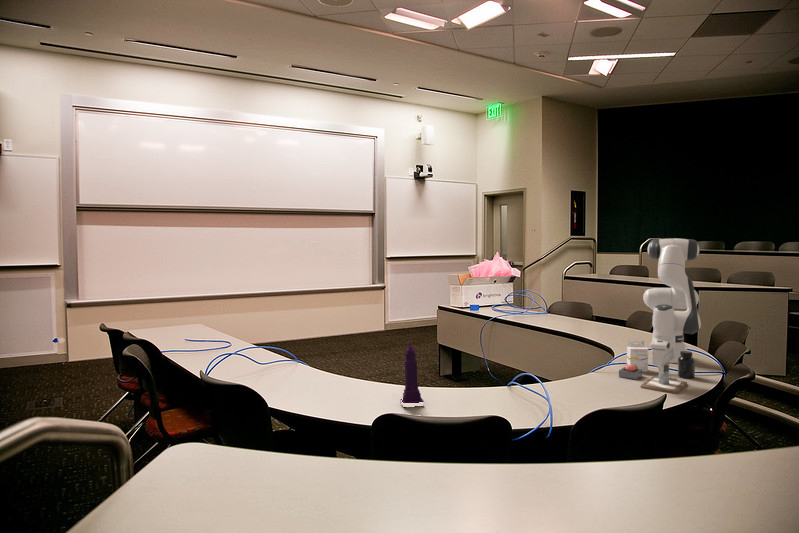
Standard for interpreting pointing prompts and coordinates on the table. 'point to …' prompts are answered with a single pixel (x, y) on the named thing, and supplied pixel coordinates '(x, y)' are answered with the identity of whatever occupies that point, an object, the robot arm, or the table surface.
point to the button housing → (630, 374)
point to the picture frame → (672, 387)
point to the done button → (630, 368)
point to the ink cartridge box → (637, 355)
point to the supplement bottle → (686, 365)
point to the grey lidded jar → (664, 376)
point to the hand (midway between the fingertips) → (663, 372)
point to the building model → (411, 378)
